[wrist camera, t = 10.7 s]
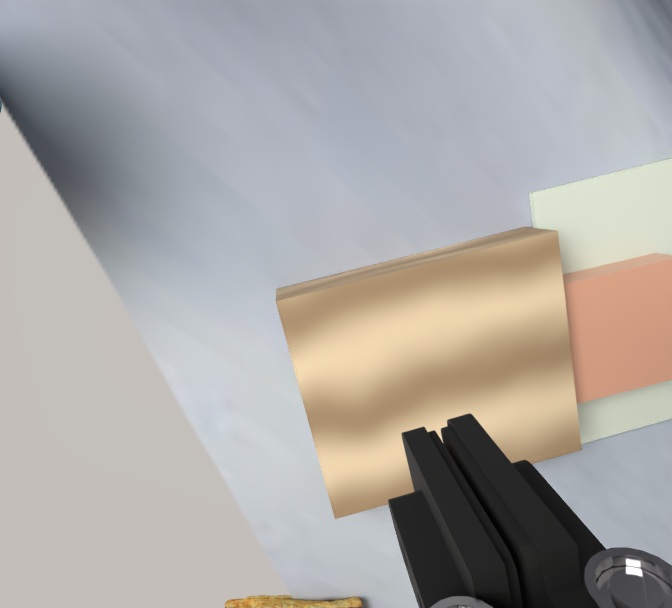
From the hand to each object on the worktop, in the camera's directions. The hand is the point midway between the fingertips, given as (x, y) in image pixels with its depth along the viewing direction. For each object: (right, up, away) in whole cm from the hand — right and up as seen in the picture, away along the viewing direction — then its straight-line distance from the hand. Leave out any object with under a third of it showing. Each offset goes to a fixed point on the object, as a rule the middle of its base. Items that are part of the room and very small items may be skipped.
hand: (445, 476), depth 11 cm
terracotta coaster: (+15, +3, +20) cm, 25 cm away
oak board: (+3, 0, +19) cm, 20 cm away
